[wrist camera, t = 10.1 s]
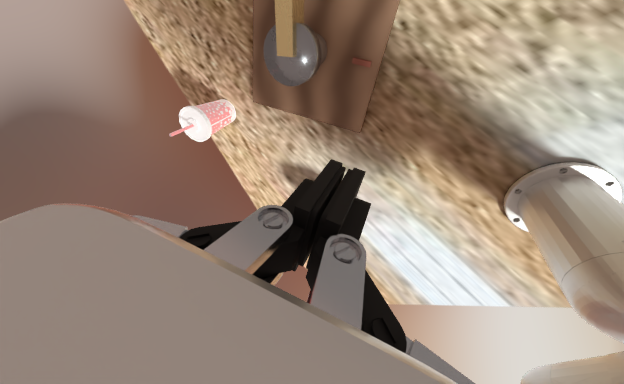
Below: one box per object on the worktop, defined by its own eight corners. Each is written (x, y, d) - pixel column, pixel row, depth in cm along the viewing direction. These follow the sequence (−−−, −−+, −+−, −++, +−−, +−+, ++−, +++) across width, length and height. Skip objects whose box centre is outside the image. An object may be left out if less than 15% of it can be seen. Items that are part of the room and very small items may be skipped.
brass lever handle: (267, -54, 26) (246, -65, 22) (328, -57, 24) (314, -69, 21) (274, 80, 33) (259, 85, 30) (320, 85, 31) (310, 91, 28)
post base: (408, -28, 28) (406, -41, 23) (361, 129, 40) (352, 145, 35) (259, -52, 32) (227, -68, 27) (257, 99, 44) (234, 109, 39)
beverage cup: (210, 92, 47) (148, 111, 36) (237, 97, 45) (181, 119, 34) (215, 122, 50) (160, 148, 39) (240, 128, 49) (190, 157, 38)
